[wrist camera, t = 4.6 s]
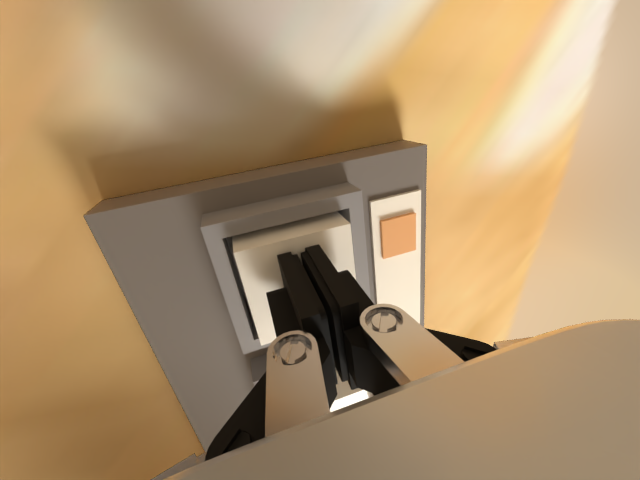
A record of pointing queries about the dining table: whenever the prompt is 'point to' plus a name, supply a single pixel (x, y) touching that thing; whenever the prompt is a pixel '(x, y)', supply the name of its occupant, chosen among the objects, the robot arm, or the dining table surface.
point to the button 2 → (265, 244)
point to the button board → (221, 269)
